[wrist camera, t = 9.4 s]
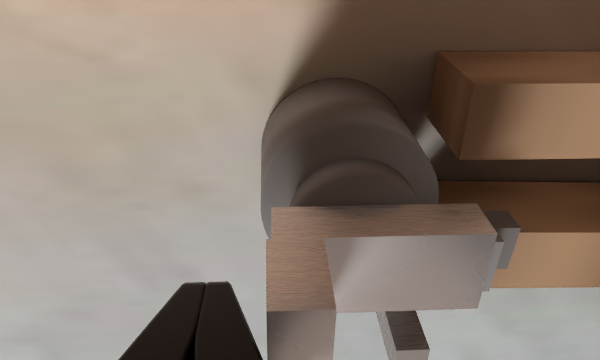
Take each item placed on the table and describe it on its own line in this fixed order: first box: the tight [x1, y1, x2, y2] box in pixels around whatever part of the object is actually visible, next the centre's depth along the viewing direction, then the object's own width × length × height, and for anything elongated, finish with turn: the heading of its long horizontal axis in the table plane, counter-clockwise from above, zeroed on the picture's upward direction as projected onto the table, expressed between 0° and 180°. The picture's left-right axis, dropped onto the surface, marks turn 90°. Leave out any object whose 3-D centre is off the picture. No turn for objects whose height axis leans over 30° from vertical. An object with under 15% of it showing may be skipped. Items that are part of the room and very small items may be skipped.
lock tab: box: [266, 203, 497, 360], centre depth 10 cm, size 4×5×5 cm
